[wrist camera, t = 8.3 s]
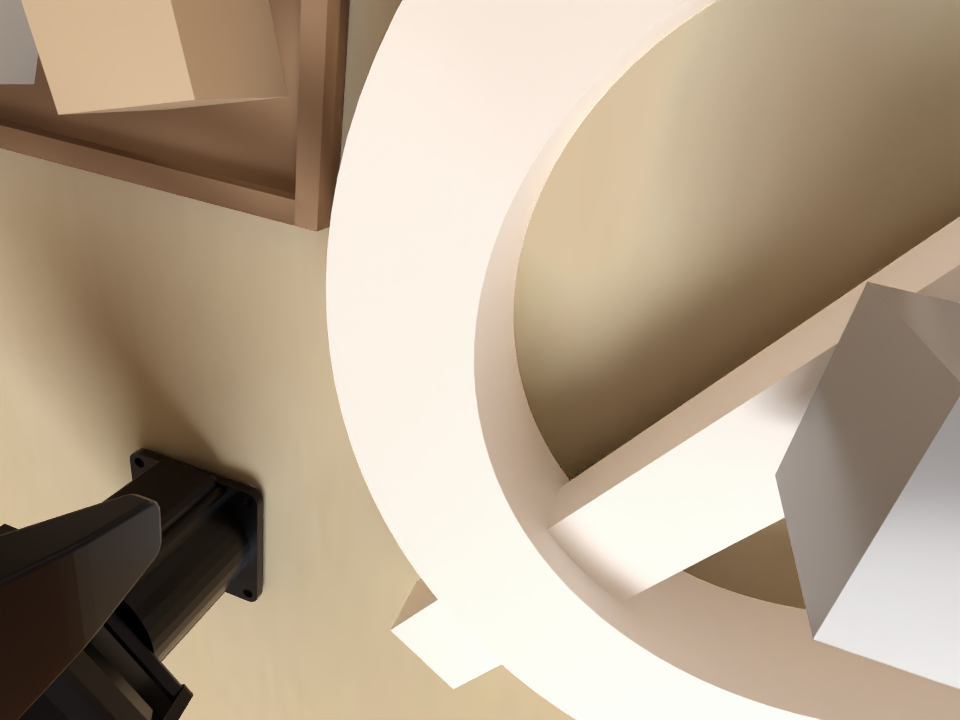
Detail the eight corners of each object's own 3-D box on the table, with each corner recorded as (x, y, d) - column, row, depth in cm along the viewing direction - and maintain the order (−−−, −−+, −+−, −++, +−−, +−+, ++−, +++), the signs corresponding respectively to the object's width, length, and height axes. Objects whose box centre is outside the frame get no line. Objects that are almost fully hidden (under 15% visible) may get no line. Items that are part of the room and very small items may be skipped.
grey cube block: (955, 528, 14) (1078, 729, 10) (774, 475, 15) (812, 639, 10) (1088, 332, 12) (1326, 479, 7) (867, 281, 13) (964, 387, 8)
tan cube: (287, 97, 19) (195, 99, 15) (168, 109, 20) (58, 114, 16) (257, -60, 17) (147, -97, 14) (130, -34, 18) (0, -62, 15)
